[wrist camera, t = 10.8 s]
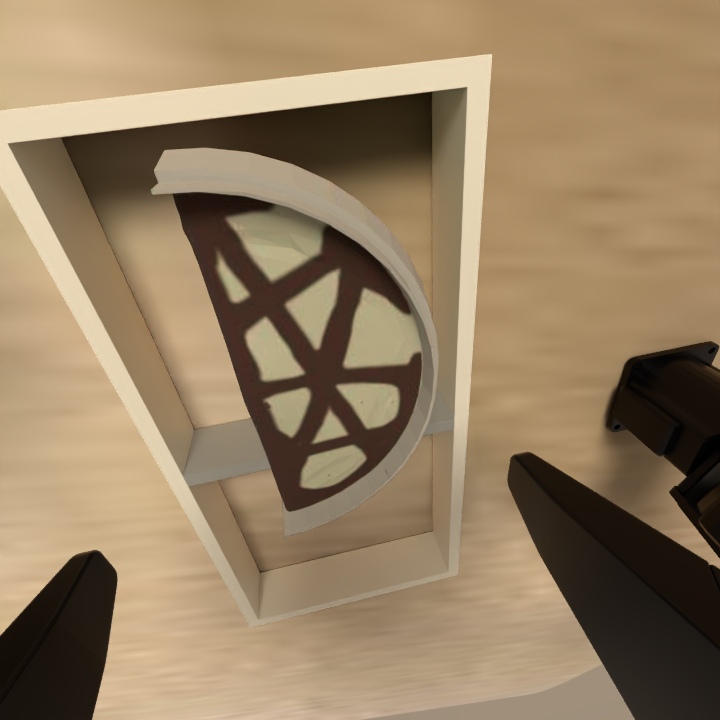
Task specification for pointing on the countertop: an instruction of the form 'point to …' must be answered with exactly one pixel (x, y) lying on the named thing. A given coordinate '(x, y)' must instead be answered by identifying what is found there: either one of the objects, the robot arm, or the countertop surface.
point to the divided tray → (240, 438)
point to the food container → (310, 323)
